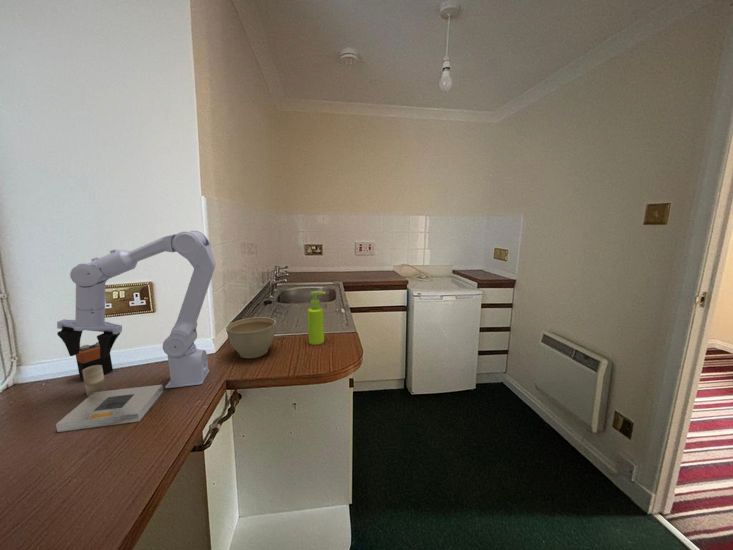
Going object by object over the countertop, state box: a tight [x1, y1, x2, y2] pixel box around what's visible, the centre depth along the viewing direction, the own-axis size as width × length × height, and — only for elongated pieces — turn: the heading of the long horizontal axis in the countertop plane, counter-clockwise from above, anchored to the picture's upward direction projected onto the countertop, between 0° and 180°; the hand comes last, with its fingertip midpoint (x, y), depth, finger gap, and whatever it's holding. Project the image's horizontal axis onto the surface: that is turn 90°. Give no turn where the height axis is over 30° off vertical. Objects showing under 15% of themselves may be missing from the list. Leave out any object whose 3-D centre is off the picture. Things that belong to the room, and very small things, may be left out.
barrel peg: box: [82, 365, 107, 397], centre depth 82 cm, size 4×4×7 cm
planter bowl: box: [225, 316, 277, 359], centre depth 105 cm, size 16×16×11 cm
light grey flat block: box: [55, 384, 164, 433], centre depth 74 cm, size 16×13×2 cm
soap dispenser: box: [307, 290, 326, 346], centre depth 114 cm, size 6×7×20 cm
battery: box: [75, 341, 114, 380], centre depth 91 cm, size 4×7×10 cm, turn 153°
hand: (89, 356), depth 81 cm, fingers open, 7 cm apart
